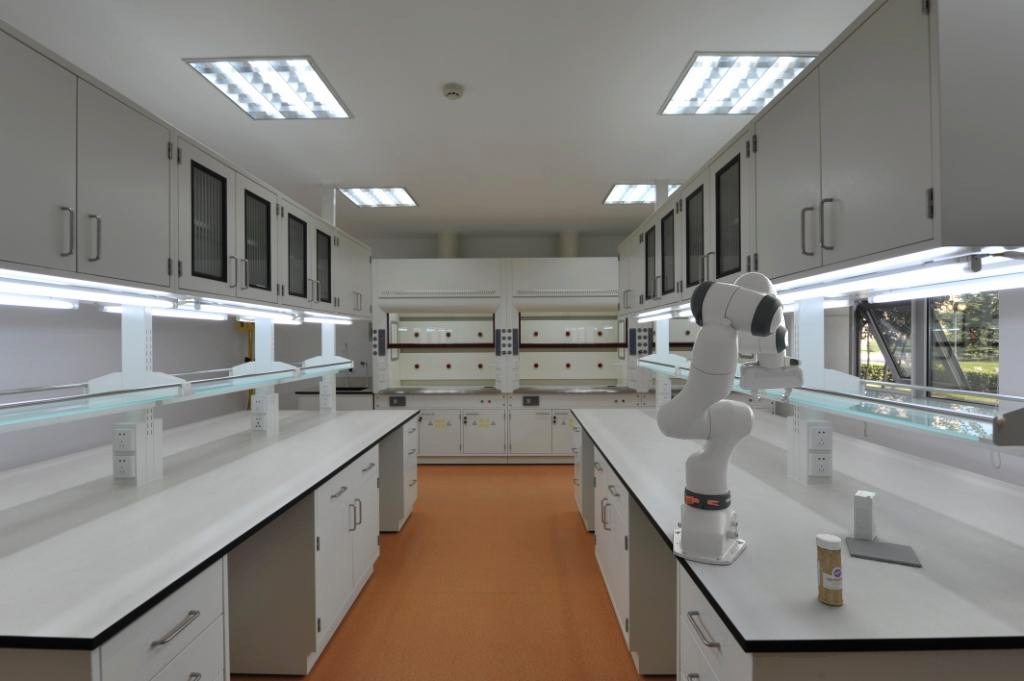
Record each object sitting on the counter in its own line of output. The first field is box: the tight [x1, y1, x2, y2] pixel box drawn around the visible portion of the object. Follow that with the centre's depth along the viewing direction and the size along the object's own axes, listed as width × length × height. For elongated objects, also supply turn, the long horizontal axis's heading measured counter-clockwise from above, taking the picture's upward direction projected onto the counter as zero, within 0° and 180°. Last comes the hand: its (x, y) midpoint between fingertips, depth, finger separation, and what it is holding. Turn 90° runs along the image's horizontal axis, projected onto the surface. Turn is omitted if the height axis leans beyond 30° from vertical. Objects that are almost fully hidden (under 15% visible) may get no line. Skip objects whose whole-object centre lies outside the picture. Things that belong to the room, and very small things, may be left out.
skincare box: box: [853, 490, 878, 541], centre depth 134 cm, size 6×4×12 cm
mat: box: [845, 536, 923, 568], centre depth 124 cm, size 12×14×1 cm
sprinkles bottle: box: [815, 533, 844, 607], centre depth 102 cm, size 5×5×14 cm
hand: (771, 401), depth 162 cm, fingers open, 8 cm apart
